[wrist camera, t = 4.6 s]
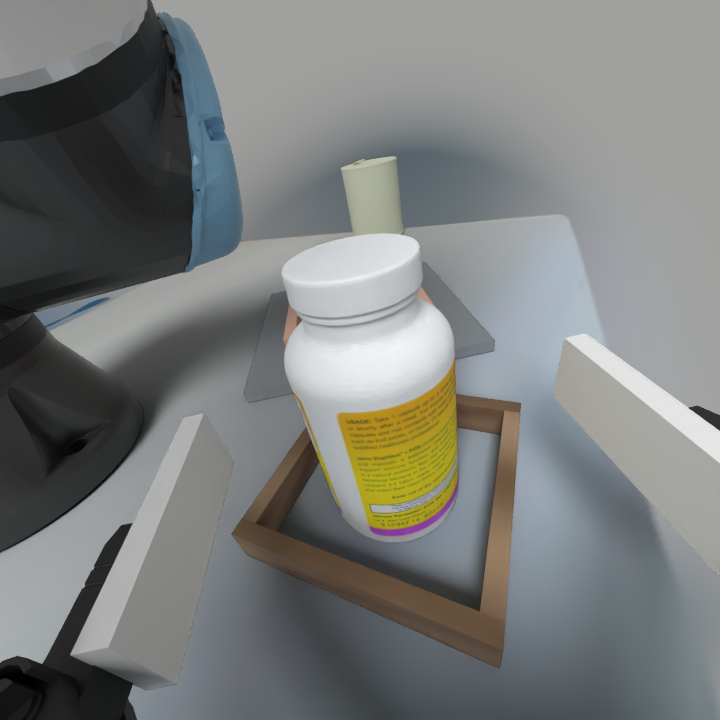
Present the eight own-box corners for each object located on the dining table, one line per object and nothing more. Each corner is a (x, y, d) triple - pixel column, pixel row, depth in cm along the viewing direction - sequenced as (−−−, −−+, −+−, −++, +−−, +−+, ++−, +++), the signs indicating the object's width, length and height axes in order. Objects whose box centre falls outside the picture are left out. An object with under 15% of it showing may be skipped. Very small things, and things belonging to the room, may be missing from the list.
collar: (499, 668, 12) (502, 650, 10) (246, 555, 16) (231, 534, 15) (517, 427, 20) (520, 403, 19) (346, 399, 25) (340, 378, 24)
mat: (494, 350, 26) (494, 340, 26) (248, 402, 27) (243, 393, 26) (425, 269, 43) (424, 261, 42) (274, 301, 43) (271, 294, 43)
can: (382, 225, 65) (372, 155, 59) (414, 230, 59) (408, 151, 52) (343, 240, 62) (329, 166, 55) (374, 246, 55) (361, 163, 48)
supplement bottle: (480, 470, 18) (491, 224, 11) (414, 580, 14) (364, 318, 7) (382, 424, 22) (343, 223, 15) (311, 500, 18) (212, 282, 11)
